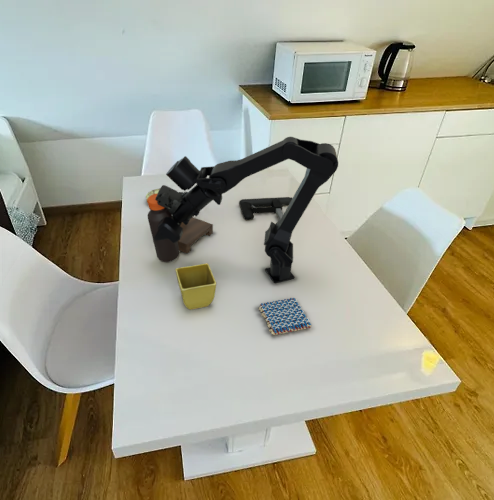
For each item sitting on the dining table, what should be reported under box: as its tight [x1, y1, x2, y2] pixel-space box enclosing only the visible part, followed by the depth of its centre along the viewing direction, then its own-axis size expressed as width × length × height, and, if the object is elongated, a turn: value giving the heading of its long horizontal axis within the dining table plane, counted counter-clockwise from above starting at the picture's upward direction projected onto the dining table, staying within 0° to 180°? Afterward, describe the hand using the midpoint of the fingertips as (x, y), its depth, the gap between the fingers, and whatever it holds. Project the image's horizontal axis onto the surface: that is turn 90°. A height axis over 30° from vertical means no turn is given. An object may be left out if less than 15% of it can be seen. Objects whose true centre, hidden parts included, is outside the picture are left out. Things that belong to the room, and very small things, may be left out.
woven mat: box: [258, 297, 312, 336], centre depth 97 cm, size 10×11×2 cm
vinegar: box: [146, 194, 181, 263], centre depth 108 cm, size 7×7×20 cm
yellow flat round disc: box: [145, 187, 161, 203], centre depth 145 cm, size 10×11×4 cm
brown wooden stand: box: [169, 208, 214, 254], centre depth 124 cm, size 12×14×10 cm
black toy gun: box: [238, 196, 293, 222], centre depth 139 cm, size 3×20×16 cm
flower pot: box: [174, 263, 217, 311], centre depth 99 cm, size 9×9×9 cm
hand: (158, 232), depth 110 cm, fingers closed on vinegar, 7 cm apart
